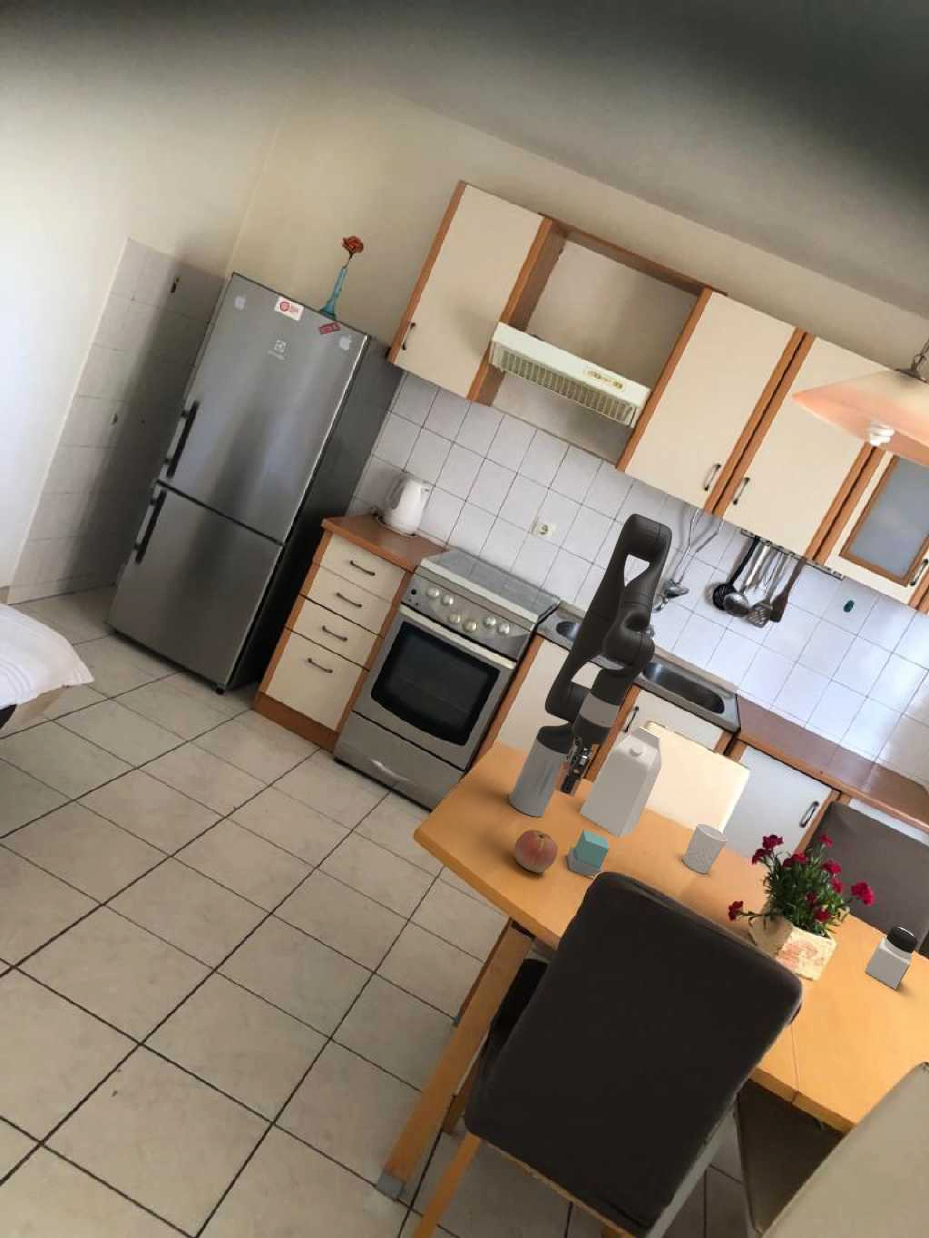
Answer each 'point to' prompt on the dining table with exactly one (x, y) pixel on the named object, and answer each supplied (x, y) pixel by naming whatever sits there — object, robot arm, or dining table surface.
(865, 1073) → the dining table surface
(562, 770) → the brick terracotta
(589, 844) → the brick teal
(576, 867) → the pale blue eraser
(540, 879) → the dining table surface
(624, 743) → the milk
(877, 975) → the medicine bottle
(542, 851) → the apple
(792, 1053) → the dining table surface
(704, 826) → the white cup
